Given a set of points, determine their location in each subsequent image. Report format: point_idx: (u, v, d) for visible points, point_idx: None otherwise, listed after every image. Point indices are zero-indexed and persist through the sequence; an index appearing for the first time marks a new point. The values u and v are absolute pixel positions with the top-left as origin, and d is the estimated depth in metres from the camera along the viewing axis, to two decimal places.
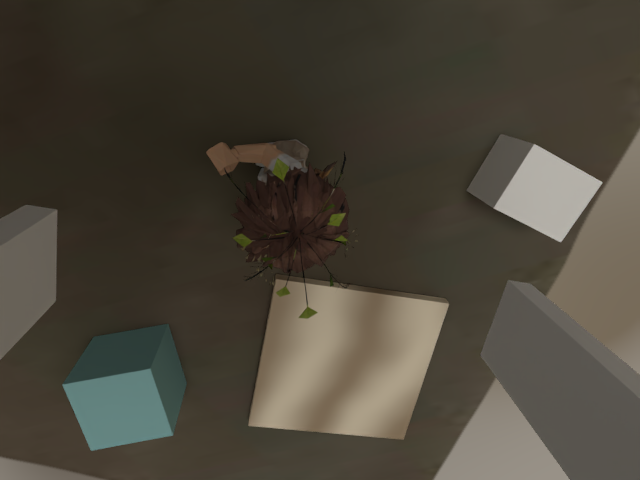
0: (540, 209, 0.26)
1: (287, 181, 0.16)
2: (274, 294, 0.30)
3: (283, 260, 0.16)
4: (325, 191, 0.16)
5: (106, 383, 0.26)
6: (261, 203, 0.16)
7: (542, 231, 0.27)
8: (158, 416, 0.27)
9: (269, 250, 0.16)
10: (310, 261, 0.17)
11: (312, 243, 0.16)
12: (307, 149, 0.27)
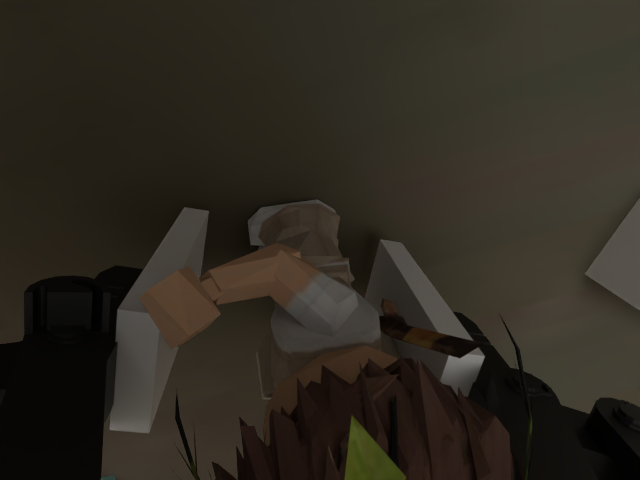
0: None
1: None
2: None
3: None
4: (479, 466, 0.06)
5: None
6: None
7: None
8: None
9: None
10: None
11: None
12: (337, 218, 0.16)
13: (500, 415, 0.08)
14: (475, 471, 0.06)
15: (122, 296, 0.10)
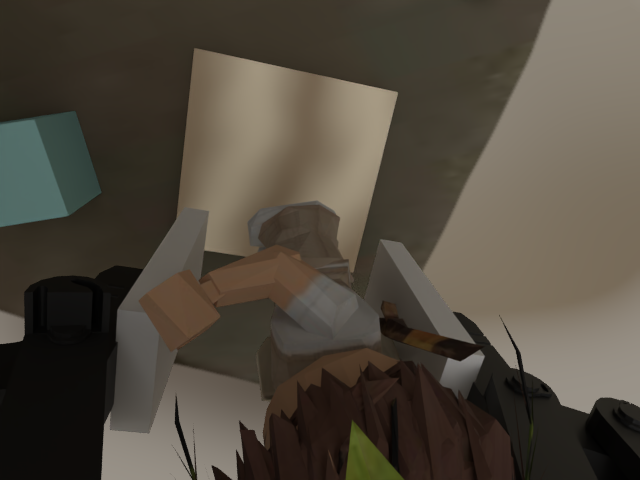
0: None
1: None
2: (193, 69, 0.26)
3: None
4: (480, 470, 0.06)
5: None
6: None
7: None
8: (49, 187, 0.24)
9: None
10: None
11: None
12: (337, 219, 0.16)
13: (499, 415, 0.08)
14: (476, 475, 0.06)
15: (122, 296, 0.10)
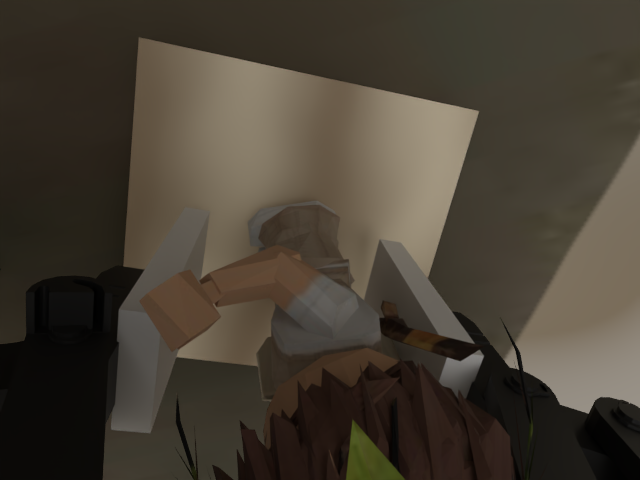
0: None
1: None
2: (139, 73, 0.15)
3: None
4: (480, 469, 0.06)
5: None
6: None
7: None
8: None
9: None
10: None
11: None
12: (337, 219, 0.16)
13: (498, 415, 0.08)
14: (476, 474, 0.06)
15: (123, 296, 0.10)
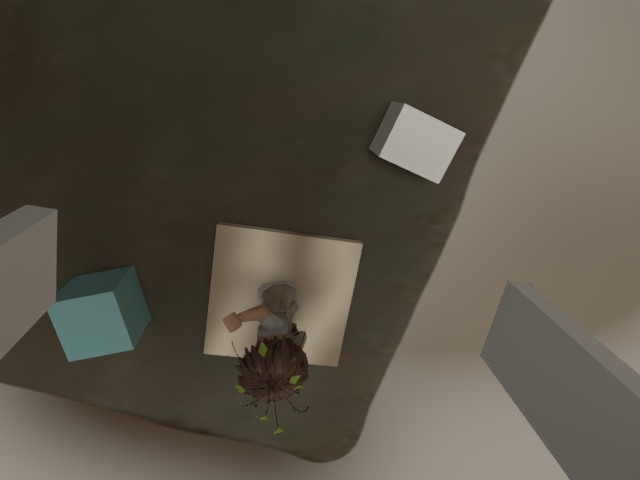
0: (417, 157, 0.33)
1: (268, 350, 0.27)
2: (216, 237, 0.37)
3: (264, 398, 0.27)
4: (291, 356, 0.27)
5: (78, 303, 0.33)
6: (253, 363, 0.27)
7: (421, 175, 0.33)
8: (121, 332, 0.34)
9: (256, 391, 0.27)
10: (282, 397, 0.28)
11: (282, 388, 0.27)
12: (294, 290, 0.38)
13: None
14: (290, 357, 0.27)
15: None
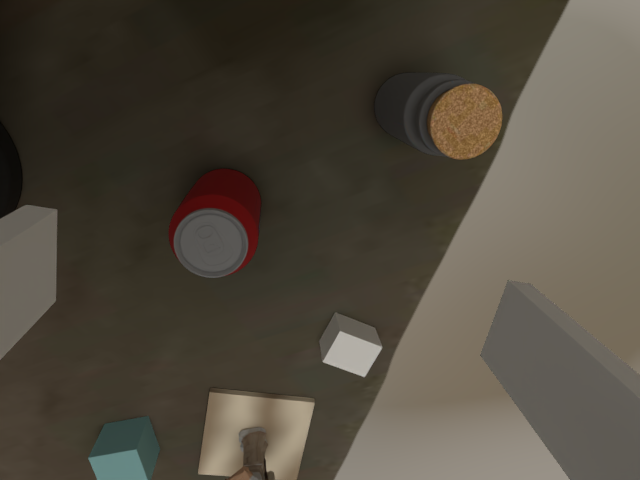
0: (349, 361, 0.48)
1: None
2: (209, 400, 0.52)
3: None
4: None
5: (111, 457, 0.48)
6: None
7: (352, 372, 0.48)
8: (141, 474, 0.49)
9: None
10: None
11: None
12: (265, 435, 0.53)
13: None
14: None
15: None
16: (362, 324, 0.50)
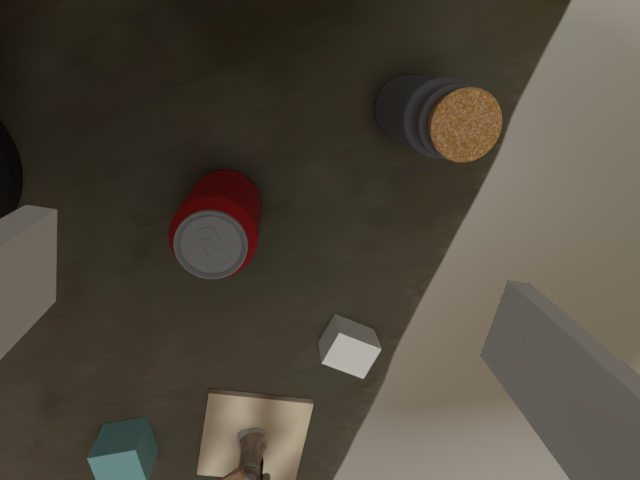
0: (348, 363, 0.48)
1: None
2: (208, 401, 0.52)
3: None
4: None
5: (110, 457, 0.48)
6: None
7: (351, 373, 0.48)
8: (139, 474, 0.49)
9: None
10: None
11: None
12: (263, 436, 0.53)
13: None
14: None
15: None
16: (361, 326, 0.50)
